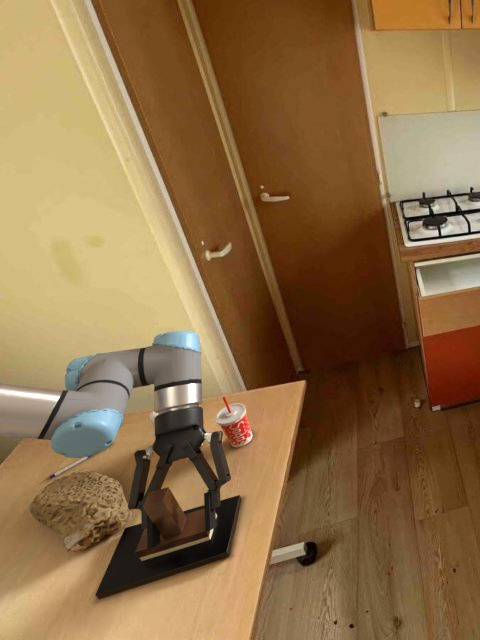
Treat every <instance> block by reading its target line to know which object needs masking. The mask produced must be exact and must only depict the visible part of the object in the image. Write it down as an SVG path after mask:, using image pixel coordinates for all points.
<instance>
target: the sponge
mask: <svg viewBox="0 0 480 640" xmlns="http://www.w3.org/2000/svg"><path fill="white" fill-rule="evenodd" d="M129 510H130V509H128V502H127V500H126V497H125V494H124V490H123V486H122V484H121V483H120V481H119V480H118V479H114V478H113V477H110V476H108V475H106V474H102V473H100V472H97V471H95V470H89V471H78V472H72V473H71V474H69V475H68V474H67V475H63V476H61V477H59V478H57V479H54V480H53V481H52V482H50V483H48V484H47V485H46V486H45V487H44V489H42V490H41V492H39V493H37V494H36V495H35V497H34V498H33V501H31V503H30V505H29V512H30V513H31V515H32V517H33V518H34V519H35V520H36V521H37V522H39V524H41V525H42V526H45V527H47V528H49V529H51V531H52V532H55V533H56V534H60V538H59V539H60V541H61V544H62V546H63V547H64V549H65V550H66V552H67V553H70V552H71V553H76V552H79V551H80V552H81V551H84V550H86V549H87V547H90V546H92V545H94V544H96V543H98V542H100V541H101V539H102V540H103V539H104V537H105V535H106V536H108V535H109V536H110V535H112V534H116V533H119V532H120V531H121V530H122V529H123V528H124V527H125V525H126V524H127V522H126V521H127V519H128V517H129Z"/></svg>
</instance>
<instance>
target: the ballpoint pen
mask: <svg viewBox="0 0 480 640" xmlns="http://www.w3.org/2000/svg"><path fill="white" fill-rule="evenodd" d="M110 445H111V444H110ZM110 445H109V446H108V447H110ZM108 447H107V448H108ZM93 456H94V455H91V456H87V457H82V458H79V459H78V460H76V461H74V462H72V463H70V464H69V465H67V466H65V467H64V468H62V469H60V470H58V471H56V472H55V473H53V474H51V475H50V476H49V479H53V478H55V477H57V476H59V475H60V474H62V473H65V471H68V470H69V469H71V468H73V467H74V466H77V465H78V464H80V463H82V462H83V461H85V460H88V459H89V458H91V457H93Z"/></svg>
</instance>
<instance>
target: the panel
mask: <svg viewBox="0 0 480 640" xmlns="http://www.w3.org/2000/svg"><path fill="white" fill-rule="evenodd" d="M220 500H221V504H220V506H219V507H217V508H215V512H216V514H217V517H216V527H215V528H214V529H213V532H212V536H211V540H208V541H205V542H202V543H198V544H195V545H192V546H189V547H186V548H182V549H179V550H176V551H173V552H170V553H166V554H163V555H160V556H157V557H153V558H150V559H147V560H144V561H141V559H140V558H139V556H138V555H137V554H136V552H135V551H136V549H137V546H138V544H139V541H140V539H141V536H142V534H143V531H144V529H142V527H141V522H140V523H137V524H133V525H130V526H127V527H124V529H123V532H122V534H121V535H120V538H119V540H118V543H117V545H116V547H115V548H114V551H113V554H112V556H111V558H110V560H109V563H108V565H107V567H106V570H105V572H104V573H103V576H102V578H101V581H100V583H99V584H98V588H97V589H96V592H95V594H94V596H95V597H96V598H97V599H98V600H101V599H105V598H108V597H111V596H114V595H117V594H120V593H123V592H126V591H129V590H132V589H135V588H139V587H142V586H145V585H148V584H150V583H153V582H158V581H160V580H164V579H166V578H169V577H173V576H176V575H179V574H182V573H186V572H188V571H191V570H194V569H196V568H200V567H203V566H206V565H209V564H212V563H216V562H219V561H222V560H224V559H225V560H226V559H227V558H230V555H231V551H232V545H233V540H234V538H235V537H234V536H235V533H236V532H235V531H236V527H237V523H238V519H239V514H240V510H241V504H242V500H243V498H242V496H241V495H240V494H238V495H235V496H231V497H227V498H224V499H220ZM201 509H204V504H203V505H200V506H196V507H193V508H190V509H186V510H183V512H184V514H187V513H191V512H194V511H198V510H201Z"/></svg>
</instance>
